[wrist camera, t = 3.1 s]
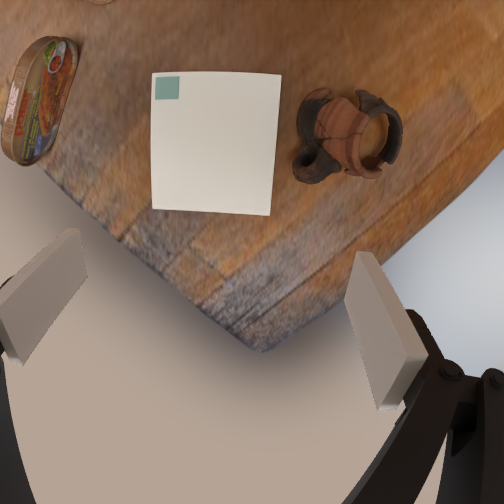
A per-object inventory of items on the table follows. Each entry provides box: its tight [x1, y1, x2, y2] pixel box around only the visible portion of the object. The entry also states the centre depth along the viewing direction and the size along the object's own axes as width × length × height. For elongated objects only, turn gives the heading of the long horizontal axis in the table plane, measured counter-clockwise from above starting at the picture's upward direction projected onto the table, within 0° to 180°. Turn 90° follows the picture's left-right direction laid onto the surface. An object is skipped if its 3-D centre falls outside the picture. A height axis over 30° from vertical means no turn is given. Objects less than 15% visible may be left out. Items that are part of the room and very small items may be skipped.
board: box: [151, 72, 282, 216], centre depth 32 cm, size 13×15×2 cm
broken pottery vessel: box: [293, 88, 403, 184], centre depth 30 cm, size 12×10×8 cm
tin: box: [1, 36, 78, 166], centre depth 26 cm, size 15×3×8 cm, turn 155°
